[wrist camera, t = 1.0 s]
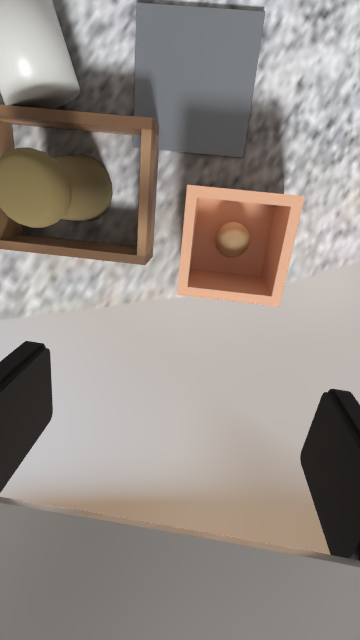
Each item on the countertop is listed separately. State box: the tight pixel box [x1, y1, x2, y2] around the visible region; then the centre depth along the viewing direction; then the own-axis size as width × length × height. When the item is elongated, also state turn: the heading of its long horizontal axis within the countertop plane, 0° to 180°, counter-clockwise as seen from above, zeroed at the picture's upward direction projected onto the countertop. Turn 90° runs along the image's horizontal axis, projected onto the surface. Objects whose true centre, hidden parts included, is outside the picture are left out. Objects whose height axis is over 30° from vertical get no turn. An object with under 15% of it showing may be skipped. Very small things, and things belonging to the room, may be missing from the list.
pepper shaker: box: [0, 148, 113, 228], centre depth 26 cm, size 6×6×11 cm
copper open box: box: [177, 185, 305, 306], centre depth 28 cm, size 9×9×7 cm
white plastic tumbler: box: [0, 0, 80, 109], centre depth 24 cm, size 7×6×6 cm
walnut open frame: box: [0, 105, 159, 265], centre depth 29 cm, size 12×15×4 cm
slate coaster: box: [133, 3, 265, 158], centre depth 26 cm, size 10×10×1 cm
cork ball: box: [215, 222, 250, 258], centre depth 29 cm, size 3×3×3 cm
